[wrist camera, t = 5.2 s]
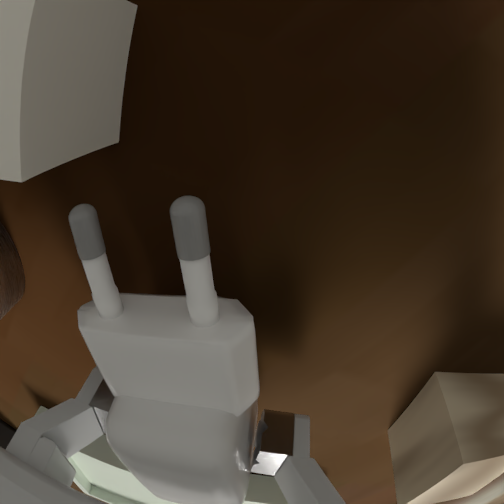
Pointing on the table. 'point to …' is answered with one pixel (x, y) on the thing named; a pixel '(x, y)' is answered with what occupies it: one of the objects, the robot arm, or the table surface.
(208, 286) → the power adapter
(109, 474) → the sage tray
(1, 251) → the metal cylinder
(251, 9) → the table surface
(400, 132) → the table surface
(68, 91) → the cream block
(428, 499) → the birch cube
